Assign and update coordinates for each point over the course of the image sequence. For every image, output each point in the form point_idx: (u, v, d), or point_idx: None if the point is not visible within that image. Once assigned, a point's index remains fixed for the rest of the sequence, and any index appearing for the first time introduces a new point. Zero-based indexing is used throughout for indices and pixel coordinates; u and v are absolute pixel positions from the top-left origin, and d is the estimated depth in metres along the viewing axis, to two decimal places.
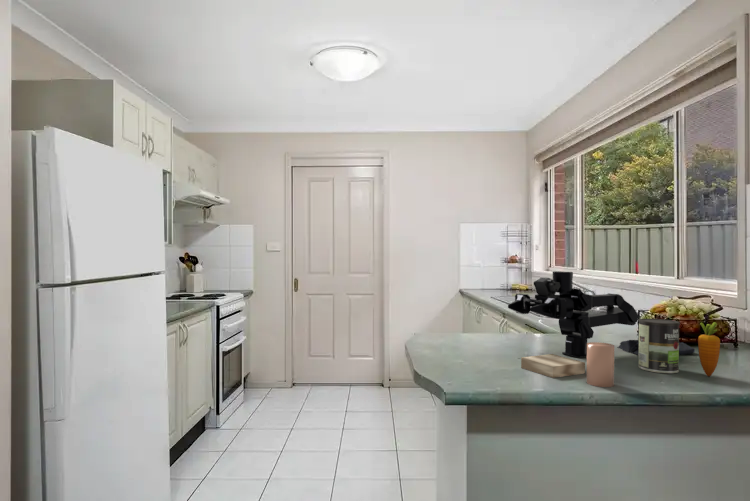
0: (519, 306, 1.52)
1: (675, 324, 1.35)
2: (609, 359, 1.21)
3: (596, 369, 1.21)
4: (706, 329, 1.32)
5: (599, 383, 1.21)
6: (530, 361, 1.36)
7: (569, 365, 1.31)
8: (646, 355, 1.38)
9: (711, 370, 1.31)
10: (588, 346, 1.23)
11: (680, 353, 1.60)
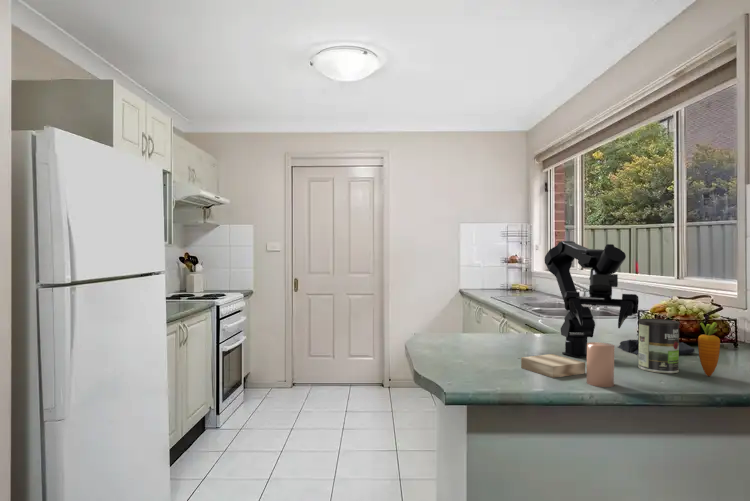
0: None
1: (675, 324, 1.35)
2: (609, 359, 1.21)
3: (596, 369, 1.21)
4: (706, 329, 1.32)
5: (599, 383, 1.21)
6: (530, 361, 1.36)
7: (569, 365, 1.31)
8: (646, 355, 1.38)
9: (711, 370, 1.31)
10: (588, 346, 1.23)
11: (680, 353, 1.60)
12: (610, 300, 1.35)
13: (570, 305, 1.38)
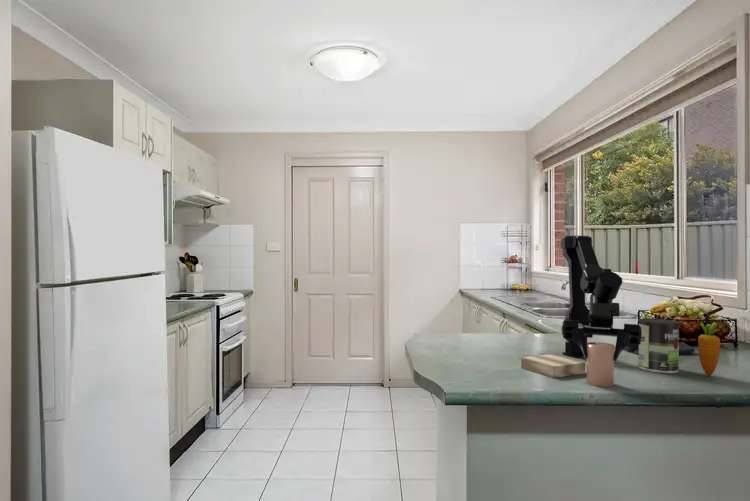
0: None
1: (675, 324, 1.35)
2: (609, 359, 1.21)
3: (596, 369, 1.21)
4: (706, 329, 1.32)
5: (599, 383, 1.21)
6: (530, 361, 1.36)
7: (569, 365, 1.31)
8: (646, 355, 1.38)
9: (711, 370, 1.31)
10: (588, 346, 1.23)
11: (680, 353, 1.60)
12: (611, 330, 1.27)
13: (573, 335, 1.29)
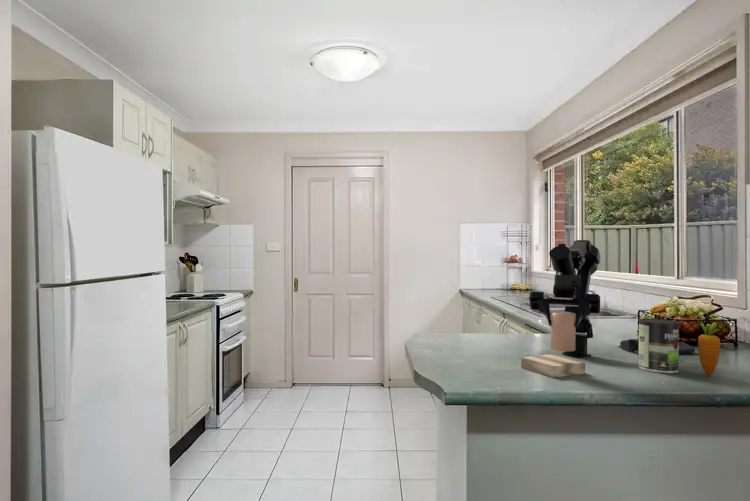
0: None
1: (675, 324, 1.35)
2: (571, 326, 1.31)
3: (558, 335, 1.32)
4: (706, 329, 1.32)
5: (561, 348, 1.31)
6: (530, 361, 1.36)
7: (569, 365, 1.31)
8: (646, 355, 1.38)
9: (711, 370, 1.31)
10: (552, 314, 1.34)
11: (680, 352, 1.61)
12: (573, 300, 1.37)
13: (539, 305, 1.39)
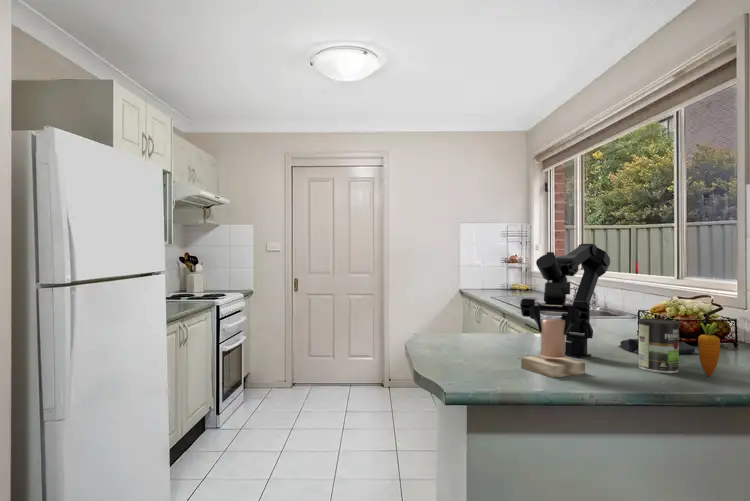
0: (540, 318, 1.40)
1: (675, 324, 1.35)
2: (560, 332, 1.34)
3: (548, 342, 1.34)
4: (706, 329, 1.32)
5: (551, 354, 1.34)
6: (530, 361, 1.36)
7: (569, 365, 1.31)
8: (646, 355, 1.38)
9: (711, 370, 1.31)
10: (542, 321, 1.37)
11: (680, 352, 1.61)
12: (563, 307, 1.40)
13: (530, 312, 1.42)
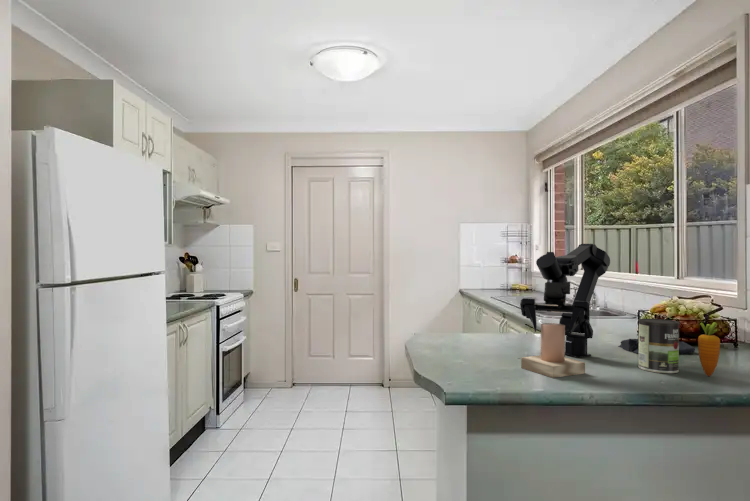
0: None
1: (675, 324, 1.35)
2: (560, 337, 1.34)
3: (548, 346, 1.34)
4: (706, 329, 1.32)
5: (551, 359, 1.34)
6: (530, 361, 1.36)
7: (569, 365, 1.31)
8: (646, 355, 1.38)
9: (711, 370, 1.31)
10: (542, 326, 1.37)
11: (680, 352, 1.61)
12: (563, 307, 1.40)
13: (526, 311, 1.43)
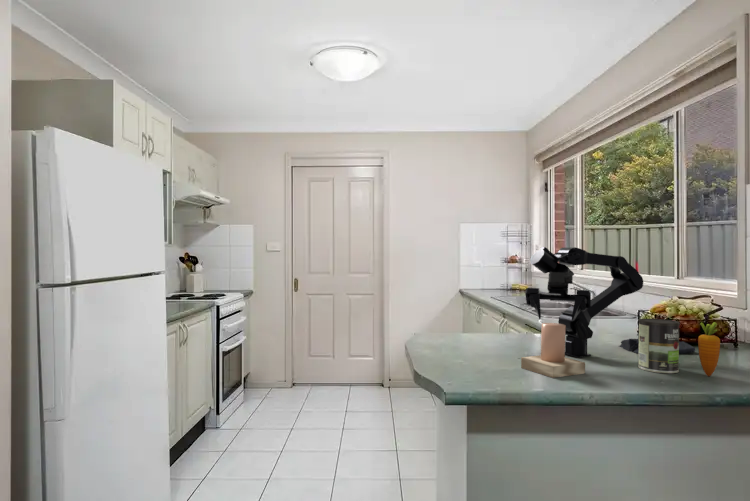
0: None
1: (675, 324, 1.35)
2: (560, 337, 1.34)
3: (548, 346, 1.34)
4: (706, 329, 1.32)
5: (550, 358, 1.34)
6: (530, 361, 1.36)
7: (569, 365, 1.31)
8: (646, 355, 1.38)
9: (711, 370, 1.31)
10: (542, 325, 1.37)
11: (680, 352, 1.62)
12: (566, 295, 1.48)
13: (530, 300, 1.51)
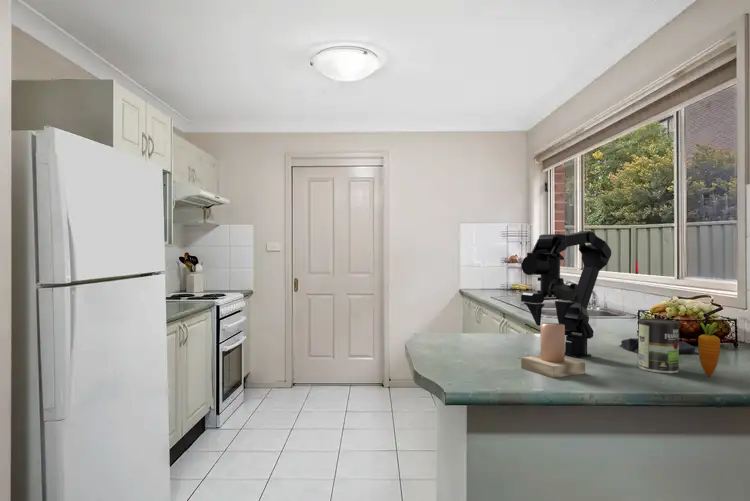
0: None
1: (675, 324, 1.35)
2: (559, 337, 1.34)
3: (547, 346, 1.34)
4: (706, 329, 1.32)
5: (550, 358, 1.34)
6: (530, 361, 1.36)
7: (569, 365, 1.31)
8: (646, 355, 1.38)
9: (711, 370, 1.31)
10: (541, 326, 1.37)
11: (680, 352, 1.62)
12: (557, 296, 1.50)
13: (531, 305, 1.46)
